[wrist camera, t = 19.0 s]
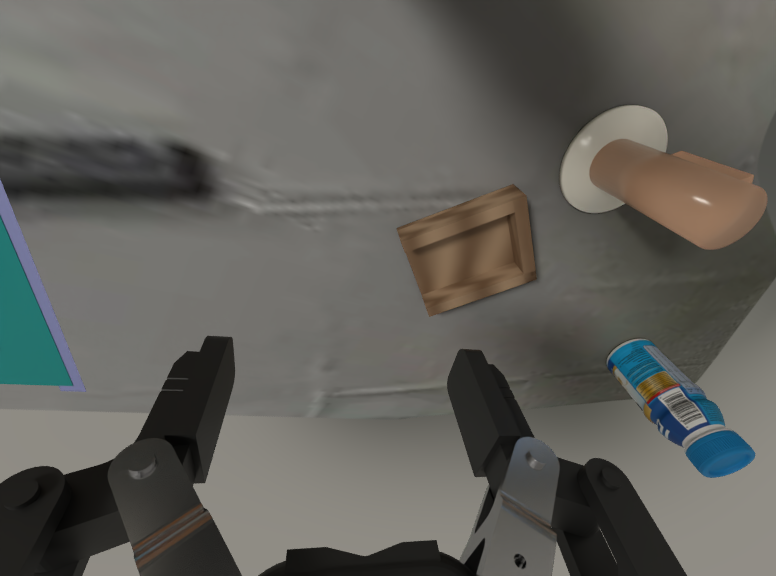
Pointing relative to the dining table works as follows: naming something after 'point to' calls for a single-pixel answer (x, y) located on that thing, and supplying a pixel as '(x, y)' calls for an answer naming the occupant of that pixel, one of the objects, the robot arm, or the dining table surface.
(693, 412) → the beverage bottle
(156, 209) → the dining table surface
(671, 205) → the tall peach pillar
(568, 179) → the coaster
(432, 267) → the cradle
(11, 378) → the place mat
